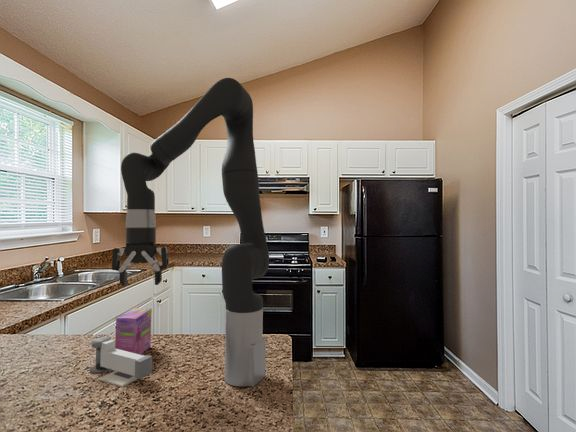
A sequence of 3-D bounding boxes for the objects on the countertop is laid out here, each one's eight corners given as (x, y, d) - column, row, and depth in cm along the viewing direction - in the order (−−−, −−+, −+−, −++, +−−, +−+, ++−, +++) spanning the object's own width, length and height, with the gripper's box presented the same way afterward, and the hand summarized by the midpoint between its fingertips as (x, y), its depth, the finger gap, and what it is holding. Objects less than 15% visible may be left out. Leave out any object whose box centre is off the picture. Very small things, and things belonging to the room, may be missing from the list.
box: (134, 361, 90) (135, 318, 90) (114, 360, 90) (115, 317, 90) (151, 346, 100) (152, 308, 100) (133, 346, 100) (133, 307, 101)
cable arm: (87, 364, 84) (87, 341, 84) (103, 358, 88) (103, 336, 88) (138, 379, 76) (138, 354, 76) (153, 372, 80) (153, 347, 80)
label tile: (149, 372, 83) (149, 370, 83) (122, 386, 76) (122, 384, 76) (127, 366, 86) (127, 364, 86) (99, 379, 79) (99, 377, 79)
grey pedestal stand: (116, 367, 86) (116, 344, 86) (98, 375, 81) (98, 350, 82) (103, 363, 88) (103, 341, 88) (85, 371, 83) (85, 347, 84)
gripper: (170, 226, 95) (170, 282, 94) (118, 226, 93) (118, 283, 92) (164, 226, 87) (164, 286, 87) (108, 226, 85) (107, 288, 85)
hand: (140, 285), depth 90 cm, fingers open, 8 cm apart
